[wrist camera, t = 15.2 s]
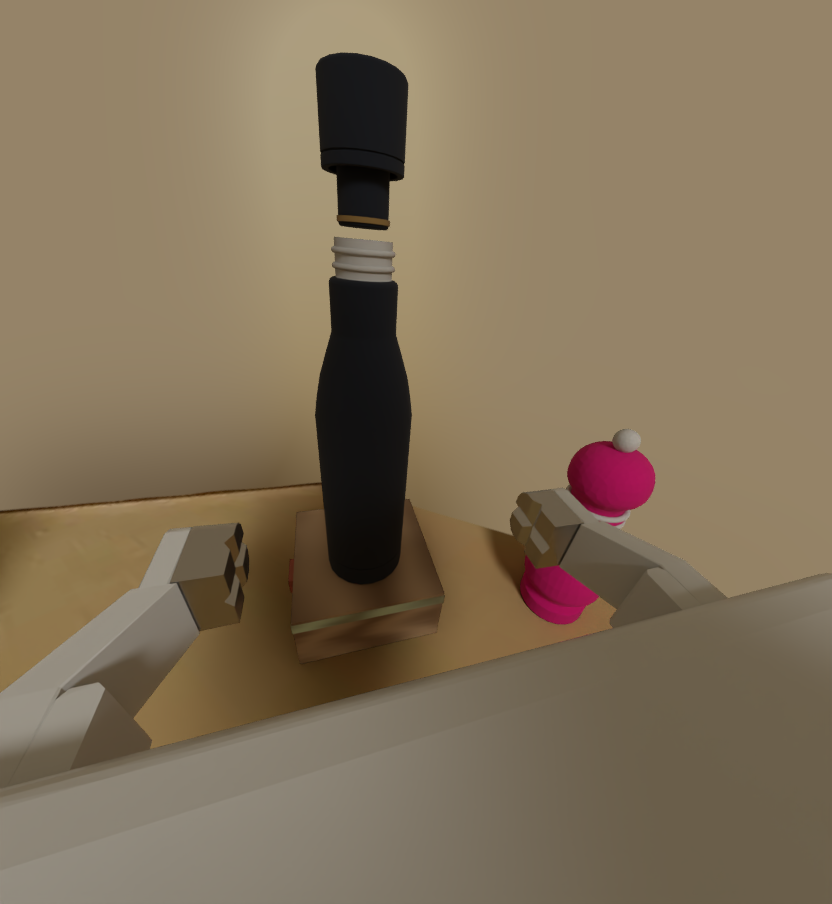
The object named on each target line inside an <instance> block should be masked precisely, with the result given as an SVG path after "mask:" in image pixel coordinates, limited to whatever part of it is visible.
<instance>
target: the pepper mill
mask: <svg viewBox="0 0 832 904" xmlns="http://www.w3.org/2000/svg"><path fill="white" fill-rule="evenodd" d="M640 443H641V439H640V436H639V434H638V433H637V432H635V431H634V430H631V429H623V430H620V431H618V432H617V433H616V434H615V435H614V437H613V440H612V442H610V441H602V442H595V443H591V444H589V445H586V446H584V447H583V448H581V449H580V450H579V451H578V452H577V453H576V454H575V455H574V457H573V458H572V460H571V462H570V464H569V467H568V471H567V477H568V480H569V483H570V485H568V487H567V488H566V490H568V491H569V492H570V493H571V494H572V495H573V496H574V497H575V498H576V499H577V500H578V501H579V502H580V503H581V504H582V505H583V506H584V507H585V508H586V509H587V510H588V511H589V512H590V513H591V514H592V515H593V516H594V517H595V518H596V519H597V520H598V521H599V522H600V521H604V522H606V523H608V524H610V525H612V526H614V527H616V528H618V529H621V528H622V527H623V526H624V525H625V522H626V519H628V517H629V516H630V510H631V509H635V508H637V507H639V506H641V505H642V504H644V503H645V502H646V501H647V500H648V498H649V497H650V495H651V494H652V492H653V489H654V485H655V473H654V469H653V467H652V465H651V464H650V462H649V461H648V459H647V458H646V457H645V456H644V455H643V454H642V453H640V452H639V451H637V450H636V449H637V448H638V447H639V446H640ZM559 566H560V565H558V566H551V567H544V568H538V569H536V568H535V567H534V565H533V564H532V562H531V561H530V559H529V558H528V557H527V555H526V556H525V572H524V575H523V577H522V580H521V583H520V590H521V594H522V597H523V599H524V601H525V603H526V604H527V606H528V607H529V608H530V609H531V610H532V611H533V612H534V613H535V614H537V615H538V616H539V617H541V618H542V619H544V620H546V621H548V622H552V623H555V624H569V623H572V622H574V621H575V620H577V619H578V618H579V616H580V615H581V613H582V611H583V610H584V608H585V606H586V605H589V604H591V603H593V602H594V601H595V600H596V599H597V598H598V597H599V596H598V595H597V594H595V593H594V592H593V591H591V590H590V589H589V588H587V587H586V586H585V585H583V584H582V583H581V582H579V581H578V580H576V579H575V578H574V577H572V576H571V575H570V574H568V573H567V572H566V571H564V570H563V569H562V568H560V567H559Z"/></svg>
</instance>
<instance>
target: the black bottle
mask: <svg viewBox="0 0 832 904" xmlns="http://www.w3.org/2000/svg"><path fill="white" fill-rule="evenodd" d="M316 84H317V102H318V119H319V137H320V152H321V167H322V169H323V170H325V171H327V172H330V173H333V174H336V175H337V194H338V215H337V221H338V222H339V225H341V226H346V227H353V228H362V229H373V230H387V229H388V227H389V226H390V221H388V216H389V182H390V181H398V180H401V179H403V178H404V163H405V143H406V121H407V99H408V82H407V79H406V77H405V75H404V74H403V73H402V72H401V71H400V70H399V69H398V68H397V67H395V66H393V65H392V64H390V63H388V62H386V61H384V60H381V59H378V58H375V57H372V56H368V55H362V54H358V53H336V54H329V55H327V56H325V57H323V58H321V59H320V60H319V62H318V63H317V65H316ZM392 249H393V243H392V242H382V241H373V240H363V239H352V238H340V237H334V246H333V247H332V248H331V250H332V252H334V253H335V262H333V263H332V267H334V268H335V272H336V276H333V277H331V278H330V280H329V294H330V312H331V328H332V330H331V335H330V339H329V342H328V346H327V349H326V353H325V357H324V361H323V365H322V369H321V372H320V377H319V384H318V392H317V400H316V412H315V418H316V428H317V439H318V449H319V460H320V471H321V481H322V492H323V503H324V513H325V524H326V534H327V545H328V556H329V562H330V565H331V568H332V570H333V571H334V572H335V573H336V575H337V576H338V577H339V578H341V579H343V580H345V581H347V582H349V583H354V584H360V585H361V584H372V583H375V582H378V581H380V580H383V579H385V578H386V577H387V576H389V575H390V574H391V573H392V572H393V571H394V570H395V568H396V567H397V565H398V563H399V559H400V553H401V541H402V529H403V516H404V504H405V491H406V479H407V467H408V454H409V442H410V429H411V417H412V413H411V403H410V394H409V386H408V379H407V375H406V371H405V367H404V363H403V359H402V355H401V352H400V348H399V345H398V341H397V337H396V318H397V296H398V285H397V283H395V281H392V280H391V277H392V272H394V271H395V269H394V267H392V258H394V257H395V252H392Z"/></svg>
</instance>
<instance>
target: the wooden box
mask: <svg viewBox="0 0 832 904" xmlns="http://www.w3.org/2000/svg"><path fill="white" fill-rule="evenodd" d="M288 582H289V587H290V591H291V593H292V611H291V630H292V634H293V635H294V640H295V644H296V648H297V653H298V657H299V661H300V664H303V663H307V662H311V661H316V660H320V659H324V658H328V657H333V656H337V655H341V654H346V653H350V652H354V651H359V650H363V649H367V648H371V647H376V646H380V645H384V644H389V643H393V642H397V641H402V640H406V639H410V638H414V637H419V636H423V635H427V634H432V633H436V632H437V627H438V622H439V617H440V612H441V607H442V603H443V602H444V597H445V595H444V591H443V588H442V585H441V583H440V580H439V577H438V575H437V572H436V569H435V566H434V564H433V561H432V558H431V556H430V553H429V550H428V548H427V545H426V542H425V540H424V537H423V534H422V532H421V529H420V526H419V523H418V521H417V518H416V515H415V513H414V510H413V507H412V505H411V502H410V500H409V499H405V504H404V516H403V529H402V541H401V553H400V559H399V563H398V565H397V567H396V568H395V570H394V571H393V572H392V573H391V574H390V575H389V576H387V577H386V578H385V579H383V580H380V581H378V582H375V583H372V584H361V585H360V584H354V583H349V582H347V581H345V580H343V579H341V578H339V577H338V576H337V575H336V573H335V572H334V571H333V570H332V568H331V565H330V562H329V556H328V545H327V534H326V524H325V513H324V509H319V510H311V511H302V512H297V515H296V534H295V554H294V559H290V565H289V580H288Z"/></svg>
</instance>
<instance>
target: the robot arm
mask: <svg viewBox="0 0 832 904" xmlns="http://www.w3.org/2000/svg"><path fill="white" fill-rule="evenodd" d="M516 503H517V505H518V508H516V509H515V510H514V511H513V512H512V515H511V518H510V525H511V531H512V533H513V535H514V537H515V539H516V540H517V541H518V542H520V543H521V544H523V545H525V549H524V552H525V554H526V555H527V557H528V558H529V559H530V561H531V562H532V564H533V565H534V567H535V568H536V569H538V568H544V567H551V566H558V565H560V566H559V567H560V568H562V569H563V570H564V571H566V572H567V573H568V574H570V575H571V576H572V577H574V578H575V579H576V580H578V581H579V582H581V583H582V584H583V585H585V586H586V587H587V588H589V589H590V590H591V591H593V592H594V593H595V594H597V595H598V596H600V597H601V598H602V599H604V600H605V601H606V602H608V603H609V604H610V605H612V606H613V607H614V608H616V609H617V610H616V612H615V613H614V614H613V616H612V617H611V618H610V625H611V626H612V627H613V628H612V629H608V630H604V631H601V632H597V633H593V634H589V635H585V636H581V637H578V638H574V639H570V640H566V641H562V642H558V643H555V644H551V645H547V646H543V647H539V648H535V649H532V650H528V651H524V652H520V653H516V654H512V655H509V656H505V657H501V658H497V659H493V660H489V661H486V662H482V663H478V664H474V665H470V666H466V667H463V668H459V669H455V670H451V671H447V672H443V673H440V674H436V675H432V676H428V677H424V678H420V679H417V680H413V681H409V682H405V683H401V684H397V685H394V686H390V687H386V688H382V689H378V690H374V691H371V692H367V693H363V694H359V695H355V696H351V697H348V698H344V699H340V700H336V701H332V702H329V703H325V704H321V705H317V706H313V707H309V708H306V709H302V710H298V711H294V712H290V713H286V714H283V715H279V716H275V717H271V718H267V719H264V720H260V721H256V722H252V723H248V724H244V725H241V726H237V727H233V728H229V729H225V730H221V731H218V732H214V733H210V734H206V735H202V736H199V737H195V738H191V739H187V740H183V741H179V742H176V743H172V744H168V745H164V746H160V747H156V748H153V749H150V746H151V743H152V740H151V738H150V737H149V736H148V734H147V733H146V732H145V731H144V730H143V729H142V728H141V727H140V726H139V724H138V723H137V722H136V721H135V720H134V719H133V718H134V716H135V715H136V714H137V713H138V711H139V710H140V709H141V708H142V706H143V705H144V704H145V702H146V701H147V700H148V699H149V697H150V696H151V695H152V694H153V692H154V691H155V690H156V688H157V687H158V686H159V685H160V683H161V682H162V681H163V680H164V678H165V677H166V676H167V674H168V673H169V672H170V671H171V669H172V668H173V667H174V666H175V664H176V663H177V662H178V660H179V659H180V658H181V657H182V655H183V654H184V653H185V652H186V650H187V649H188V648H189V646H190V645H191V644H192V643H193V641H194V640H195V639H196V638H197V636H198V635H199V634H200V632H199V631H203V630H207V629H212V628H217V627H222V626H227V625H232V624H236V623H240V619H241V613H242V608H243V602H244V595H243V591H242V587H243V586H244V585H245V584H246V582H247V579H248V573H249V555H248V549H247V545H245V544H244V543H242V538H243V530H242V527H241V524H240V523H230V524H218V525H206V526H195V527H189V528H176V529H169V530H168V531H167V532H166V533H165V534H164V536H163V538H162V540H161V542H160V544H159V546H158V548H157V551H156V553H155V555H154V557H153V559H152V561H151V563H150V565H149V567H148V569H147V571H146V573H145V576H144V578H143V580H142V582H141V584H140V586H139V588H137V589H131V590H129V591H128V592H127V593H125V594H124V595H123V596H122V597H120V598H119V599H118V600H117V601H115V602H114V603H113V604H112V605H110V606H109V607H108V608H107V609H105V610H104V611H103V612H102V613H100V614H99V615H98V616H97V617H95V618H94V619H93V620H91V621H90V622H89V623H88V624H86V625H85V626H84V627H83V628H81V629H80V630H79V631H78V632H76V633H75V634H74V635H73V636H71V637H70V638H69V639H68V640H66V641H65V642H64V643H63V644H61V645H60V646H59V647H58V648H56V649H55V650H54V651H53V652H51V653H50V654H49V655H48V656H46V657H45V658H44V659H43V660H41V661H40V662H39V663H38V664H36V665H35V666H34V667H32V668H31V669H30V670H29V671H27V672H26V673H25V674H24V675H22V676H21V677H20V678H19V679H17V680H16V681H15V682H14V683H12V684H11V685H10V686H9V687H7V688H6V689H5V690H4V691H2V692H1V693H0V904H832V574H829V573H825V574H818V575H815V576H811V577H807V578H803V579H800V580H796V581H792V582H788V583H784V584H780V585H777V586H773V587H769V588H765V589H761V590H758V591H753V592H750V593H746V594H742V595H739V596H734V597H731V598H727V597H726V596H725V595H724V594H723V593H721V592H720V591H719V590H718V589H717V588H716V587H714V586H713V585H712V584H711V583H710V582H709V581H708V580H707V579H706V578H704V577H703V576H702V575H701V574H700V573H699V572H697V571H696V570H695V569H694V568H693V567H692V566H691V565H690V564H688V563H687V562H686V561H685V560H683V559H681V558H678V557H677V556H674V555H672V554H670V553H668V552H666V551H664V550H662V549H660V548H658V547H656V546H653V545H651V544H649V543H647V542H645V541H643V540H641V539H639V538H637V537H635V536H633V535H631V534H629V533H627V532H624V531H622V530H620V529H618V528H616V527H614V526H612V525H610V524H608V523H606V522H604V521H600V522H599V521H598V520H597V519H596V518H595V517H594V516H593V515H592V514H591V513H590V512H589V511H588V510H587V509H586V508H585V507H584V506H583V505H582V504H581V503H580V502H579V501H578V500H577V499H576V498H575V497H574V496H573V495H572V494H571V493H570V492H569V491H568V490H566V489H564V488H557V489H550V490H541V491H533V492H523V493H521V494H520V495H519V496H518V498H517V501H516Z"/></svg>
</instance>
